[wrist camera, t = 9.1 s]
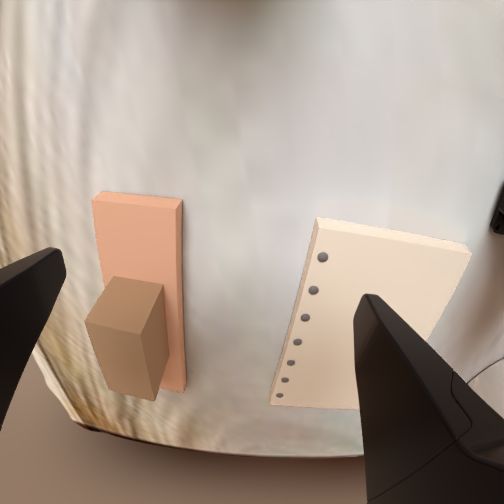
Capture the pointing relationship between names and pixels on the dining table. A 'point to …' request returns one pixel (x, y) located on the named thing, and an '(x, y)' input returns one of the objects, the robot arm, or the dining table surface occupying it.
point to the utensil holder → (491, 386)
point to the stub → (139, 294)
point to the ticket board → (348, 297)
